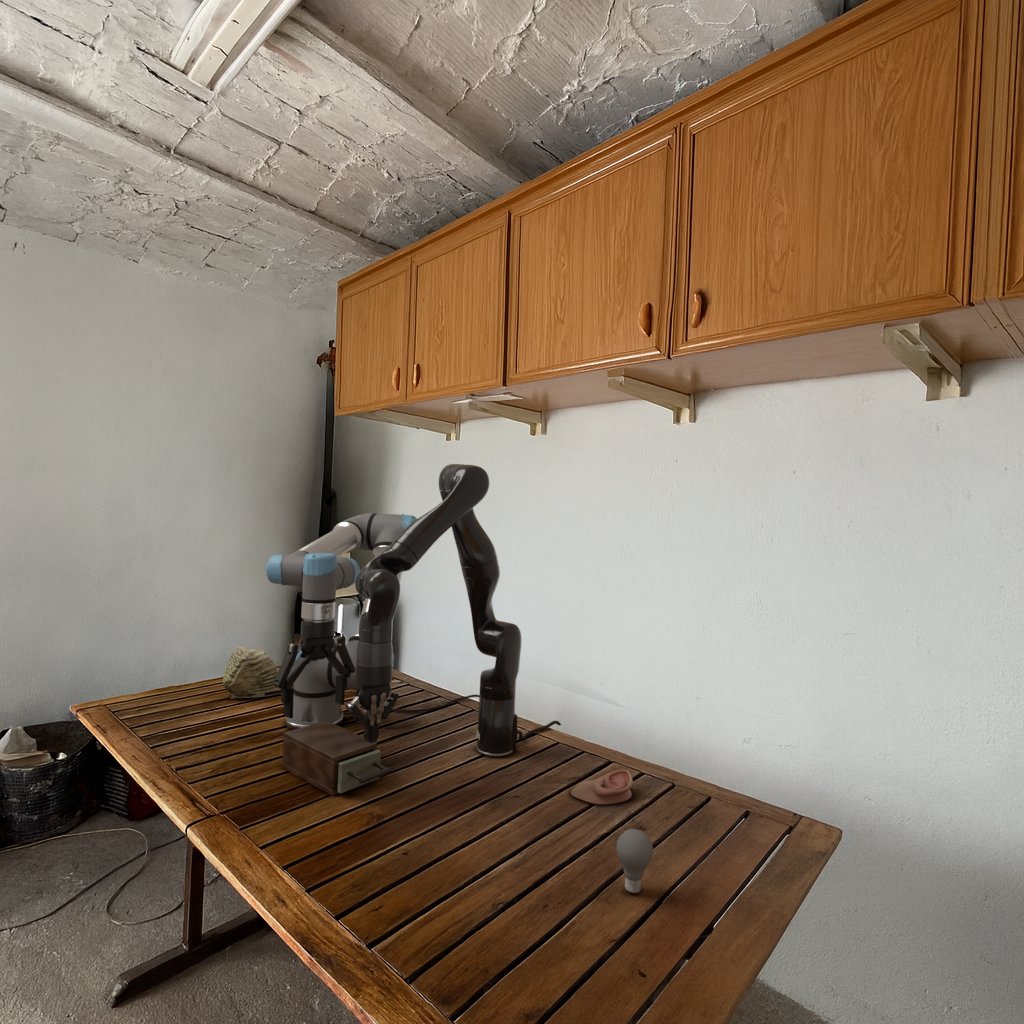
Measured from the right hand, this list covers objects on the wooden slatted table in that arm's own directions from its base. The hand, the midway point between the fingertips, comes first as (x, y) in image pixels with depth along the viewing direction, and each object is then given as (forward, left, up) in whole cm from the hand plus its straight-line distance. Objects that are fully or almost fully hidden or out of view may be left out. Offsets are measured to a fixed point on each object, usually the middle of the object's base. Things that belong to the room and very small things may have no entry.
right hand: (371, 741), depth 135 cm
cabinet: (+7, -13, -12) cm, 19 cm away
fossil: (+19, -78, -12) cm, 81 cm away
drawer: (+4, -8, -10) cm, 14 cm away
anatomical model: (-48, +16, -12) cm, 52 cm away
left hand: (+9, -18, +2) cm, 21 cm away
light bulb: (-34, +48, -12) cm, 60 cm away
